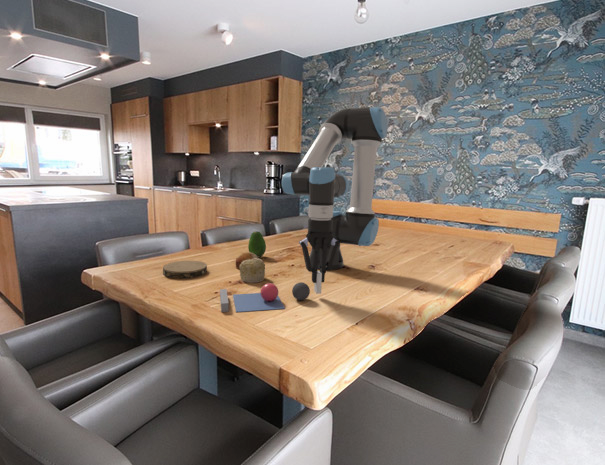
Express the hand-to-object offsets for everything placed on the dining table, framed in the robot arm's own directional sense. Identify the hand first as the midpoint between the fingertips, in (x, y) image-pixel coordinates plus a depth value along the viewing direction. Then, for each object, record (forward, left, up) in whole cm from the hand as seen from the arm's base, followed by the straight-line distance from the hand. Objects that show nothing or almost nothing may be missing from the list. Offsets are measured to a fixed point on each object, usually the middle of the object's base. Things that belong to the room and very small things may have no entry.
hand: (317, 292), depth 112 cm
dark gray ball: (+6, +1, +1) cm, 6 cm away
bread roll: (+18, -39, -2) cm, 43 cm away
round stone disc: (+42, -35, -3) cm, 55 cm away
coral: (+18, -23, -2) cm, 29 cm away
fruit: (+12, -55, -2) cm, 56 cm away
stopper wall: (+29, 0, -2) cm, 29 cm away
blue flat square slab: (+19, 0, -2) cm, 19 cm away
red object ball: (+15, 0, +1) cm, 15 cm away
